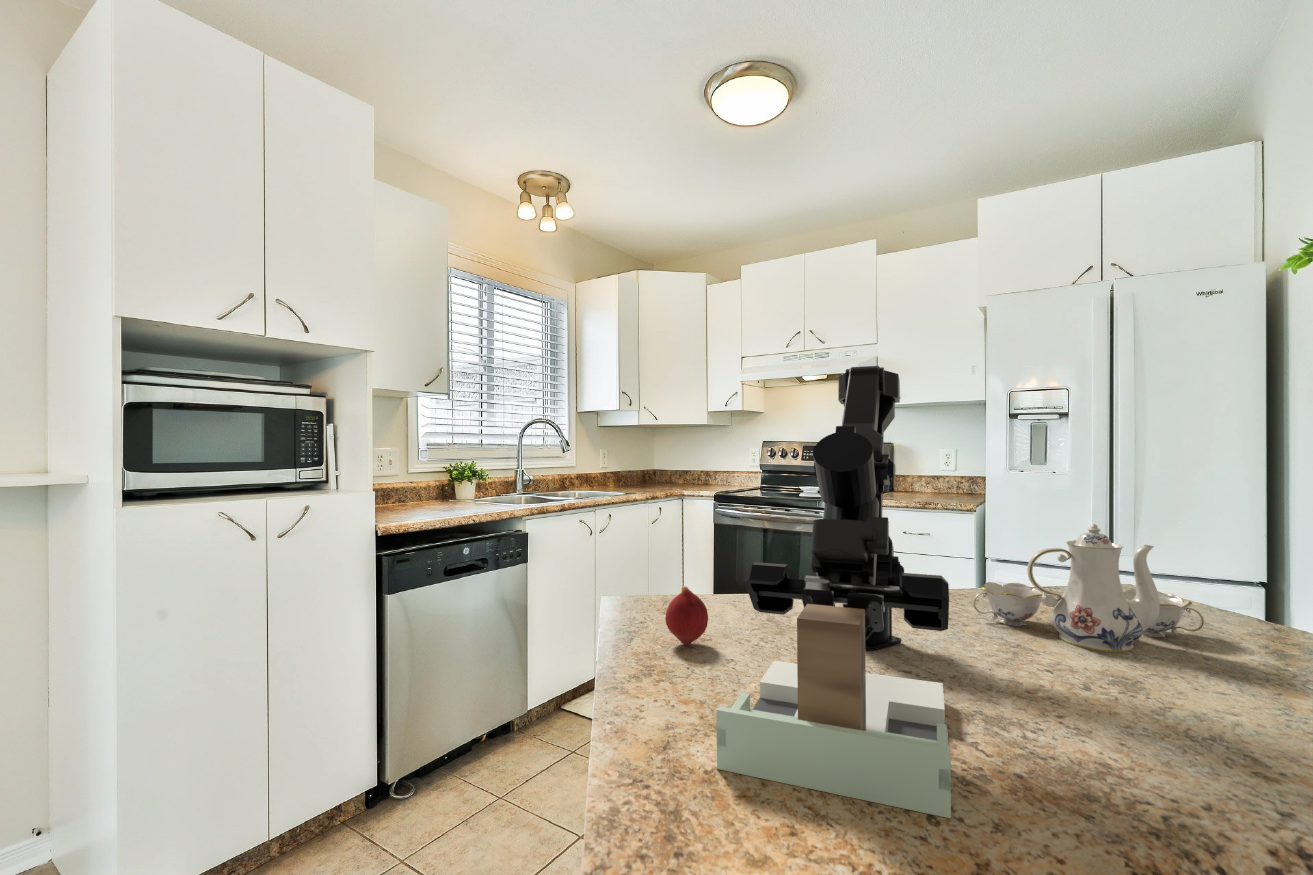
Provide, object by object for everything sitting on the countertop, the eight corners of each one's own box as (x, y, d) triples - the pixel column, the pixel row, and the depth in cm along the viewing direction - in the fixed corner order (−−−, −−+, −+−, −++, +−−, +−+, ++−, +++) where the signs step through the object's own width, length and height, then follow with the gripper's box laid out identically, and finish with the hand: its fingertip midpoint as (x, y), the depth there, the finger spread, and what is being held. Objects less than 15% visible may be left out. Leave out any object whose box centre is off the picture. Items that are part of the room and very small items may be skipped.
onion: (708, 638, 88) (708, 581, 88) (707, 652, 82) (707, 591, 82) (667, 637, 88) (667, 581, 88) (664, 651, 82) (663, 590, 83)
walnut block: (808, 724, 56) (807, 603, 57) (866, 734, 55) (864, 609, 55) (798, 749, 52) (796, 618, 52) (860, 761, 50) (859, 624, 50)
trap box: (774, 677, 73) (773, 634, 73) (942, 701, 66) (942, 654, 66) (716, 768, 53) (716, 709, 53) (951, 818, 46) (950, 750, 46)
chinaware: (1171, 636, 92) (1164, 523, 94) (1249, 663, 76) (1237, 527, 78) (966, 624, 99) (963, 519, 101) (998, 647, 83) (993, 522, 85)
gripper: (748, 484, 64) (717, 619, 54) (947, 488, 57) (953, 645, 47) (767, 548, 72) (742, 677, 61) (945, 559, 64) (950, 708, 54)
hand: (836, 676), depth 56 cm, fingers closed, pressing on walnut block
